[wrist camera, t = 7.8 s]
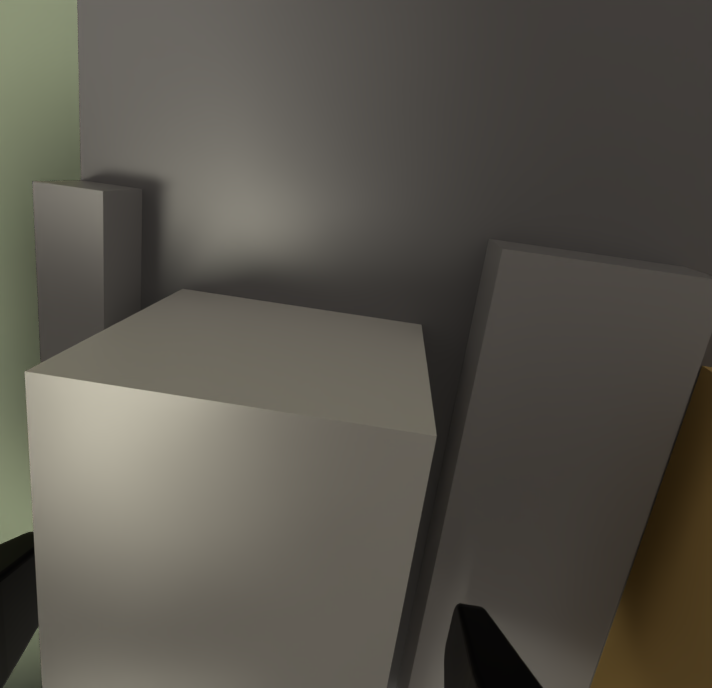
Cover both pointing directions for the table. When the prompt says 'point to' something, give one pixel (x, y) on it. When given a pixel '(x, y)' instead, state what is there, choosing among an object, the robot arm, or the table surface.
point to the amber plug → (671, 572)
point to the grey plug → (227, 496)
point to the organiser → (430, 252)
